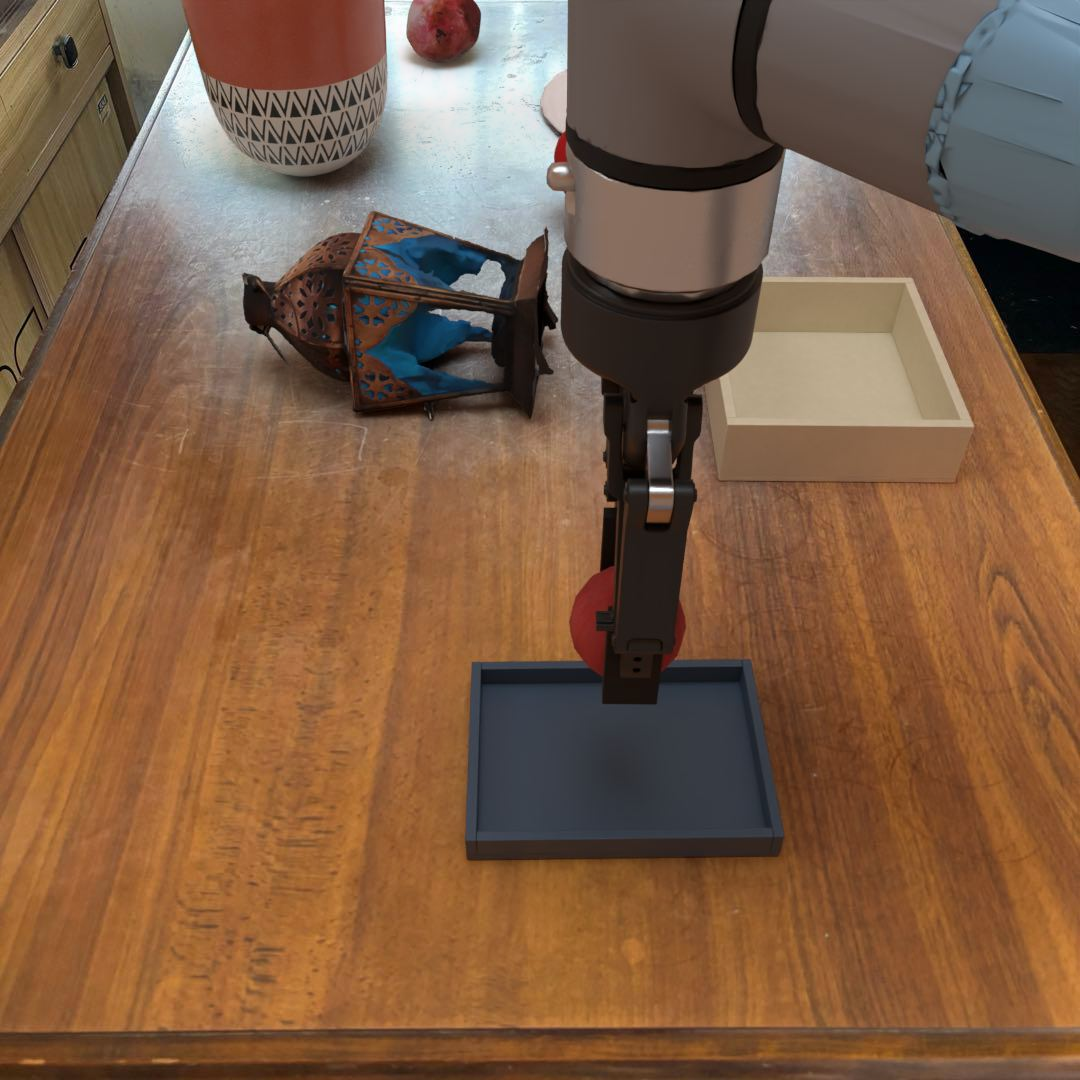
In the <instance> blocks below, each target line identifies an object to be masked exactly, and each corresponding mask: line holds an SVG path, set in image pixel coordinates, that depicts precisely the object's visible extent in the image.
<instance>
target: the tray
mask: <svg viewBox="0 0 1080 1080" xmlns="http://www.w3.org/2000/svg"><path fill="white" fill-rule="evenodd" d="M470 668H471V669H470V695H469V721H468V722H469V724H468V748H467V749H468V750H467V751H468V752H467V778H466V779H467V780H466V804H465V805H466V806H465V807H466V808H465V833H464V843H465V853H466V860H467V861H481V860H483V861H484V860H485V861H486V860H556V859H557V860H559V859H560V860H561V859H564V860H565V859H567V860H569V859H638V858H639V859H640V858H643V859H645V858H646V859H647V858H715V857H719V858H720V857H724V858H726V857H778V856H780V853H781V849H782V846H783V844H784V840H785V837H786V836H785V830H784V825H783V820H782V814H781V810H780V803H779V799H778V794H777V793H778V792H777V788H776V783H775V777H774V772H773V767H772V762H771V757H770V751H769V746H768V741H767V737H766V730H765V725H764V719H763V716H762V715H763V714H762V711H761V710H762V709H761V704H760V701H759V694H758V689H757V684H756V677H755V673H754V672H755V671H754V669H753V662H752V659H751V658H742V659H741V658H715V659H714V658H712V659H710V658H709V659H705V658H703V659H674V660H673V661H672V662H671V663H670V664H669V665H668V666H667V667H666V668H665V669H664V670H663V671H662V672H661V675H660V683H659V690H658V698H657V705H646V704H602V682H603V676H601V675H600V674H598V673H597V672H595V671H594V670H592V669H591V668H590V667H588V666H587V665H586V664H585V662H584V661H583V660H523V661H522V660H521V661H519V660H518V661H517V660H516V661H515V660H513V661H510V660H509V661H471V666H470Z"/></svg>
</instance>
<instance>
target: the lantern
mask: <svg viewBox="0 0 1080 1080" xmlns="http://www.w3.org/2000/svg"><path fill="white" fill-rule="evenodd" d="M542 229H543V234H541V235H539V236H538V237H536V238H535V239H534V240H533V241H531V243H530V244H529V246H528V247H527V248H526V249H525V255H524V257H523V258H522V259H518V258H516V257H513V256H512V255H510V254H508V253H503V252H500V251H497V250H494V249H490V248H488V247H485V246H483V245H481V244H477V243H473V242H471V241H469V240H466V239H462V238H459V237H453V236H452V235H450V234H447V233H444V232H441V231H438V230H435V229H432V228H429V227H427V226H423V225H420V224H417V223H413V222H409V221H407V220H405V219H401V218H399V217H394V216H391V215H388V214H385V213H383V212H380V211H375V210H370V212H369V213H368V214H367V219H366V221H365V223H364V226H363V227H362V231H361V232H352V231H349V232H348V231H347V232H340V233H337V234H334V235H330V236H328V237H326V238H325V239H322V240H321V241H319V242H317V243H316V244H315V245H314V246H313V247H311V248H309V250H308V251H306V253H305V254H304V255H302V257H300V258H299V259H298V261H296V262H295V263H294V264H293V265H292V267H290V268H289V270H288V271H287V272H286V273H285V274H284V275H283V276H282V277H281V278H280V279H278V280H277V281H267V280H262V279H261V277H260V276H258V275H254V274H252V273H247V272H242V273H241V277H242V281H243V296H242V310H243V317H244V321H245V322H246V324H247V325H248V328H249V330H250V331H253V332H254V333H256V334H258V335H263V336H264V337H266V339H267V340H268V341H269V344H270V345H271V347H272V348H273V350H274V351H275V352H276V353H277V355H278V356H279V357H280V358H281V360H282V361H283V362H284V363H285V364H286V366H289V367H290V366H292V362H290V361H288V359H287V358H286V357H285V356H284V354H283V353H282V351H281V349H280V347H279V346H278V344H276V343H275V341H274V339H273V338H272V337H271V335H270V331H271V328H273V329H275V330H276V331H277V332H278V333H279V334H280V335H281V336H282V337H283V339H284V340H286V341H287V342H288V344H289V345H291V346H292V347H293V348H294V349H295V350H296V351H297V352H298V353H299V355H301V356H302V357H303V358H304V360H306V361H307V362H308V363H309V364H310V365H311V366H312V367H313V368H314V369H316V370H317V371H319V372H320V373H322V374H323V375H325V376H327V377H329V378H331V379H333V380H335V381H339V382H341V383H350V388H351V389H350V390H351V408H352V412H353V413H354V414H363V413H369V412H374V411H382V410H389V409H398V408H404V407H406V406H409V405H418V404H421V403H422V404H424V406H423V410H424V411H427V412H428V413H427V415H428V419H429V420H430V421H433V420H434V416H435V411H434V408H433V405H434V404H435V403H439V402H441V401H447V400H455V399H458V398H464V397H472V396H473V397H474V396H480V395H484V394H496V393H508V394H510V395H511V397H512V398H513V399H514V400H515V401H516V402H517V403H518V404H519V406H521V408H522V409H523V412H524V413H525V414H526V416H527V417H528V419H529V420H531V419H532V417H533V413H534V407H535V400H536V394H537V388H538V387H537V386H538V382H539V380H540V376H543V375H549V376H552V375H553V376H554V373H555V371H554V370H553V368H551V367H550V365H549V363H548V360H547V359H546V357H545V355H544V352H543V351H544V341H543V336H544V332H545V329H546V327H548V330H549V331H553V330H556V329H557V323H558V322H559V317H558V316H557V315H556V313H555V311H554V310H553V308H552V306H551V305H550V303H549V301H548V300H549V295H548V291H547V281H548V275H549V272H548V268H549V245H550V242H549V229H548V226H546V225H544V226H542ZM488 260H489V261H490V262H495V263H498V264H499V265H500V270H501V272H502V273H503V274H504V277H505V278H504V279H505V280H504V281H503V284H502V286H501V287H500V292H499V296H498V297H493V296H488V295H484V294H477V293H476V292H472V291H466V290H464V289H461V290H456V289H455V288H453V287H451V286H452V285H453V284H454V283H457V282H458V281H459V279H460V278H461V277H462V276H464V275H475V276H478V274H480V272H481V270H482V267H483V265H485V263H486V261H488ZM436 310H440V311H451V310H456V311H468V312H483V313H486V314H488V315H489V314H490V315H493V319H492V323H491V326H490V327H491V329H490V330H491V331H490V330H489V329H488V328H486V327H483V326H476V325H475V326H474V325H471V324H472V322H471V321H468V320H464V319H461V318H460V319H458V320H450V319H449V318H448V317H447V316H446V315H441V314H440V313H433V312H434V311H436ZM466 342H467V343H469V342H470V343H490V353H491V357H492V359H493V360H494V364H495V365H496V366H498V367H499V368H503V378H502V382H498V383H494V382H486V381H485V380H480V379H476V378H474V379H468V378H463V377H458V376H456V375H451V374H449V373H447V372H445V371H444V370H442V371H441V370H440V371H435V370H432V369H430V367H426V366H423V365H421V364H422V363H425V362H429V361H431V360H433V359H436V358H438V357H440V356H442V355H444V354H445V353H447V352H449V351H450V350H453V349H454V348H455V347H457V346H459V345H460V346H461V345H462V344H464V343H466Z"/></svg>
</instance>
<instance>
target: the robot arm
mask: <svg viewBox="0 0 1080 1080" xmlns="http://www.w3.org/2000/svg"><path fill="white" fill-rule="evenodd" d="M566 37H567V41H566V43H567V45H566V46H567V47H566V48H567V49H566V50H567V52H566V55H567V56H566V57H567V58H566V69H567V108H566V113H567V116H566V129H565V136H566V140H567V143H566V157H567V161H568V162H557V163H554V162H551V163H550V165H549V166H548V167H547V168H546V169H547V170H546V185H547V186H548V187H549V189H551V190H552V191H553V192H554V191H555V192H564V191H566V194H565V193H564V216H563V217H564V225H563V238H564V242H565V245H566V247H565V249H564V252H563V254H562V257H561V258H562V259H561V277H560V278H561V281H560V282H561V283H560V285H561V286H560V287H561V288H560V332H561V336H562V339H563V342H564V344H565V347H566V348H567V349H568V351H569V353H570V354H571V355H572V356H573V358H575V360H576V361H577V362H578V363H580V365H582V366H583V367H584V368H586V369H587V370H589V371H590V372H592V373H593V374H595V375H597V376H599V377H600V391H601V392H600V393H601V395H602V396H603V401H602V402H603V403H602V404H603V406H602V424H603V432H604V436H605V437H606V439H605V449H604V451H602V462H604V464H605V469H606V480H605V482H604V485H603V496H604V497H605V498H606V503H614V507H608V506H607V507H605V506H604V507H603V511H602V513H603V514H602V528H601V529H602V530H601V543H600V544H601V545H600V559H599V560H600V561H599V572H601V571H603V570H605V569H607V568H609V567H612V566H614V587H613V606H608V611H596V631H606V640H605V654H604V668H603V682H602V704H646V705H657V698H658V690H659V683H660V675H661V668H662V660H663V654H672V652H673V646H675V643H676V638H675V627H676V619H677V611H678V603H679V600H680V595H681V587H682V579H683V571H684V564H685V563H684V562H685V555H686V548H687V547H686V546H687V539H688V538H687V537H688V532H689V530H688V529H689V527H690V523H691V518H692V515H693V510H694V507H695V506H694V505H695V503H697V501H698V489H697V488H696V483H695V482H694V479H692V472H693V462H694V461H693V460H694V448H695V442H696V441H697V440H698V439H699V437H700V436H701V433H702V427H703V426H702V425H703V414H704V412H703V411H704V399H703V395H702V393H695V391H696V390H698V389H699V388H701V387H703V386H704V385H705V384H707V383H709V382H711V381H713V380H716V379H718V378H720V377H722V376H723V375H725V374H727V373H728V372H730V371H731V370H732V369H734V368H735V367H736V366H737V365H738V364H739V363H740V362H741V361H742V360H743V358H744V357H745V355H746V354H747V352H748V350H749V348H750V346H751V342H752V338H753V332H754V326H755V320H756V314H757V309H758V303H759V297H760V291H761V285H762V279H763V277H764V268H763V261H764V260H765V259H766V258H767V256H768V255H769V252H770V246H771V245H770V244H771V240H772V233H773V229H774V228H773V227H774V222H775V216H776V210H777V204H778V198H779V193H780V188H781V187H780V186H781V182H782V177H783V176H782V175H783V169H784V165H785V164H784V163H785V157H786V153H787V150H789V151H791V152H794V153H797V154H799V155H801V156H803V157H806V158H807V159H810V160H813V162H814V161H815V162H817V163H819V164H822V165H824V166H826V167H828V168H831V169H833V170H835V171H838V172H840V173H842V174H844V175H846V176H849V177H851V178H853V179H855V180H858V181H860V182H863V183H864V184H867V185H869V186H872V187H874V188H877V189H879V190H881V191H883V192H886V193H888V194H890V195H893V196H894V197H897V198H900V199H901V200H904V201H906V202H908V203H910V204H913V205H916V206H917V207H921V208H923V209H925V210H927V211H929V212H931V213H934V214H936V215H939V216H941V217H944V218H945V219H948V220H950V221H951V223H952V224H953V225H954V226H957V227H959V228H961V229H962V230H965V231H968V232H969V233H972V234H974V235H976V236H980V237H981V236H983V235H987V236H989V237H991V238H994V239H995V240H1009V241H1012V242H1015V243H1019V244H1021V245H1025V246H1028V247H1031V248H1034V249H1037V250H1040V251H1044V252H1046V253H1048V254H1049V253H1050V254H1051V255H1055V256H1057V257H1061V258H1063V259H1066V260H1069V261H1072V262H1076V263H1080V0H567V36H566ZM675 463H676V464H675ZM674 464H675V466H674V467H673V465H674Z"/></svg>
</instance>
